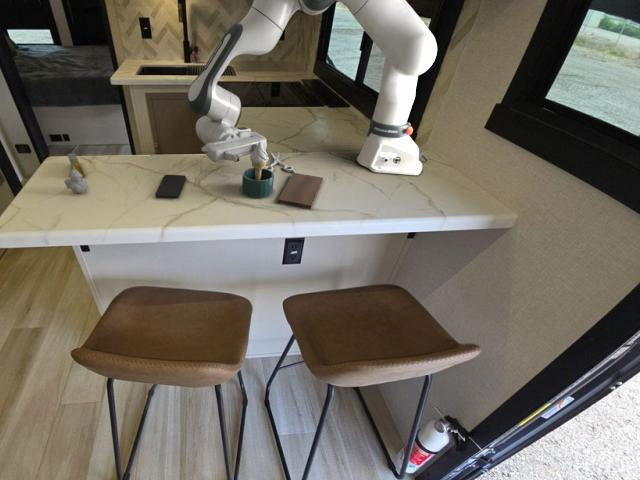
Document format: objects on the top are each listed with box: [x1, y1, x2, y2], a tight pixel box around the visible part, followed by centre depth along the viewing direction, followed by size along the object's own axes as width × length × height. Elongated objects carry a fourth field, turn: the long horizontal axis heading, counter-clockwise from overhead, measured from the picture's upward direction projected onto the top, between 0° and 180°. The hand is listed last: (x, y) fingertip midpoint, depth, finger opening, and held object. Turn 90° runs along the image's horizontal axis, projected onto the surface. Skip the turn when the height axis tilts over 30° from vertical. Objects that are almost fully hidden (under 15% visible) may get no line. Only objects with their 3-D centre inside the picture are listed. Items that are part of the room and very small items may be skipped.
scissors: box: [264, 150, 297, 174], centre depth 122 cm, size 11×1×20 cm
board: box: [277, 172, 324, 210], centre depth 106 cm, size 10×20×1 cm, turn 160°
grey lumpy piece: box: [63, 166, 89, 194], centre depth 101 cm, size 5×7×8 cm
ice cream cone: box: [249, 141, 269, 180], centre depth 101 cm, size 6×6×15 cm
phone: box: [154, 174, 187, 199], centre depth 107 cm, size 7×1×15 cm
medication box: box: [67, 152, 86, 177], centre depth 113 cm, size 12×3×4 cm, turn 28°
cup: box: [241, 167, 275, 199], centre depth 104 cm, size 10×10×6 cm
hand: (250, 156), depth 103 cm, fingers open, 8 cm apart
